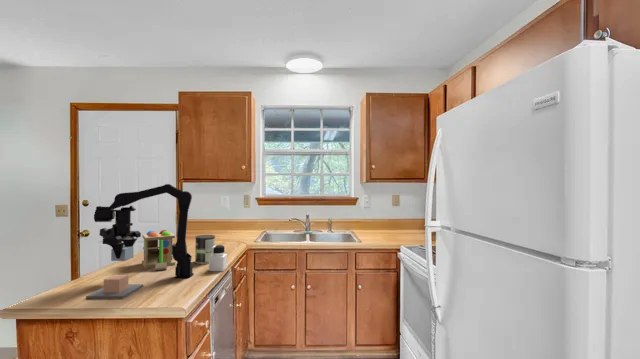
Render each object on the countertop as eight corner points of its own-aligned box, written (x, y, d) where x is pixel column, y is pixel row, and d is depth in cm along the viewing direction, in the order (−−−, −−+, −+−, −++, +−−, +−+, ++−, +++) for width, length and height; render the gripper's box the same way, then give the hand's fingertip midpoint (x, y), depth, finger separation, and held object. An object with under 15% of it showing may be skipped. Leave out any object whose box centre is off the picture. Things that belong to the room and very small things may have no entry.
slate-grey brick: (133, 257, 144) (133, 246, 144) (124, 260, 138) (125, 249, 138) (120, 257, 144) (120, 246, 144) (111, 260, 138) (111, 249, 138)
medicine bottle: (227, 267, 165) (227, 244, 165) (223, 271, 158) (223, 247, 158) (213, 267, 165) (213, 244, 165) (208, 271, 157) (208, 247, 158)
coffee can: (194, 264, 170) (195, 238, 170) (195, 260, 180) (195, 235, 180) (215, 263, 174) (215, 237, 174) (214, 258, 184) (214, 234, 184)
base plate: (143, 286, 134) (143, 284, 134) (123, 298, 120) (123, 296, 120) (109, 286, 134) (109, 284, 134) (85, 298, 120) (85, 296, 120)
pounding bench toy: (178, 268, 162) (179, 233, 163) (147, 273, 154) (147, 236, 154) (170, 259, 181) (170, 228, 181) (141, 263, 173) (142, 230, 173)
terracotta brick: (128, 287, 130) (128, 275, 130) (119, 292, 124) (119, 279, 124) (113, 287, 130) (113, 275, 130) (103, 292, 124) (103, 279, 124)
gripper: (117, 218, 150) (117, 252, 150) (89, 224, 131) (89, 261, 131) (141, 219, 150) (141, 252, 150) (117, 224, 132) (116, 262, 131)
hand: (122, 256), depth 141 cm, fingers closed on slate-grey brick, 6 cm apart
